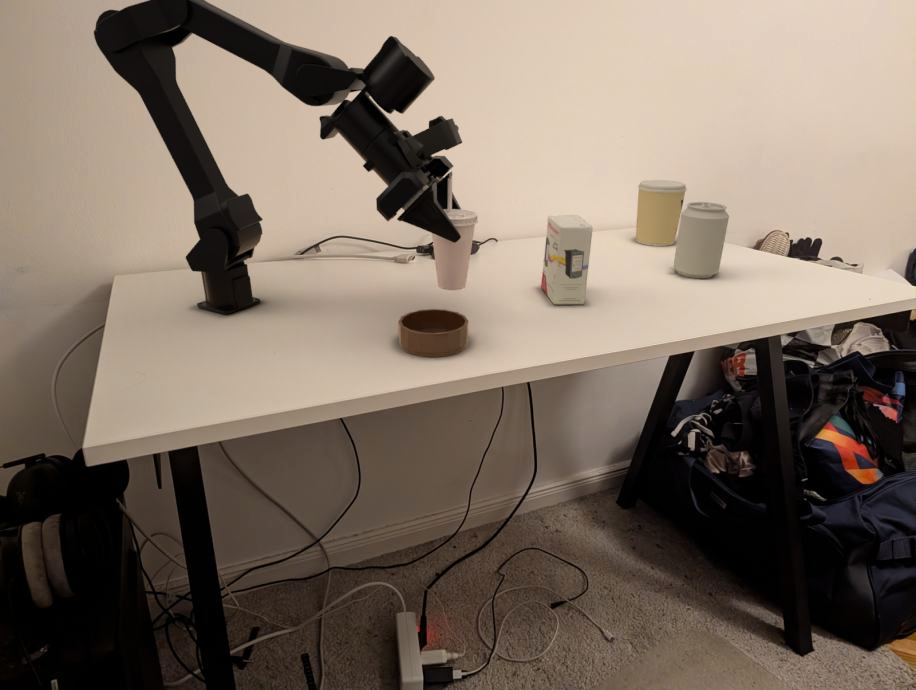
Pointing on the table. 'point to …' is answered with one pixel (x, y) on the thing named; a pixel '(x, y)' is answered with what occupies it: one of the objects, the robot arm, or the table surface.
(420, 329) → the brown bowl
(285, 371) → the table surface
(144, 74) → the robot arm
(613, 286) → the table surface
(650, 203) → the yellow lidded canister
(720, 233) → the can
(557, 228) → the ink box
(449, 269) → the smoothie
